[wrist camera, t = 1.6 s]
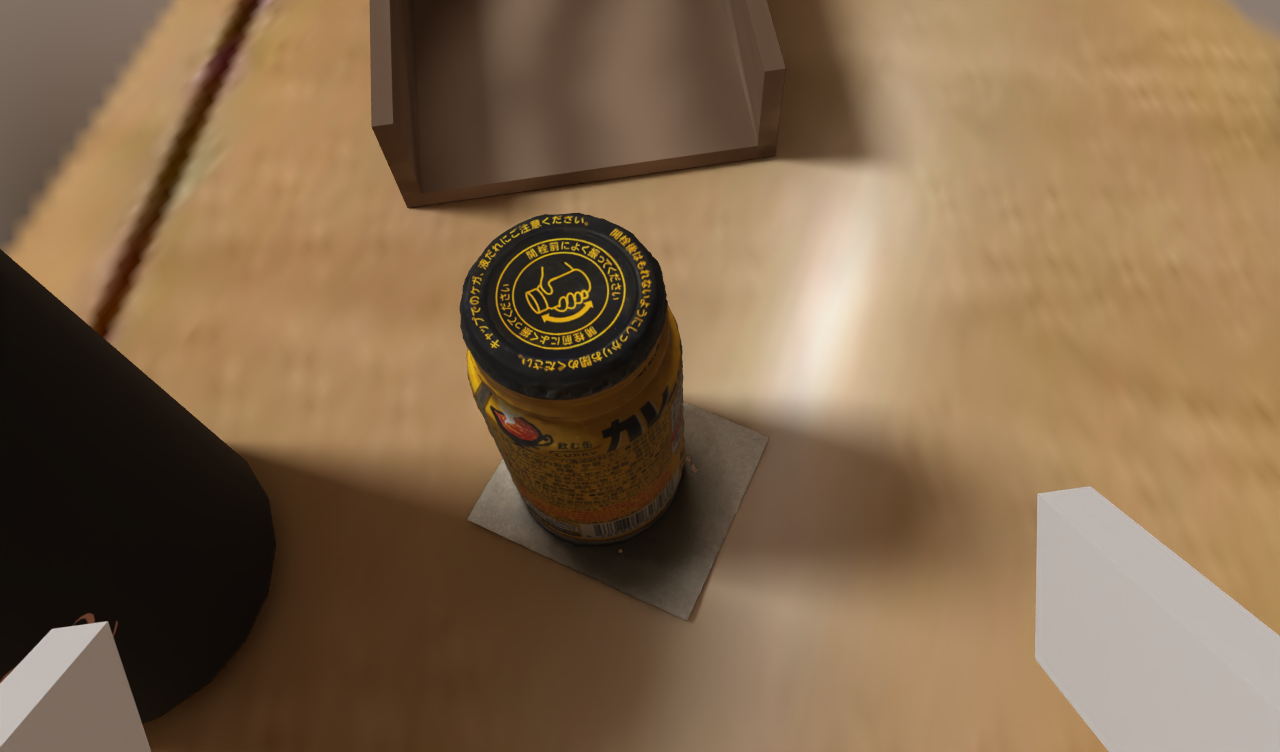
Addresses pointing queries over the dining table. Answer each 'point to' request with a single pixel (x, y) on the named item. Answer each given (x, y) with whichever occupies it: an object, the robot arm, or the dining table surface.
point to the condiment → (597, 412)
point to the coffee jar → (118, 507)
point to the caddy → (567, 91)
